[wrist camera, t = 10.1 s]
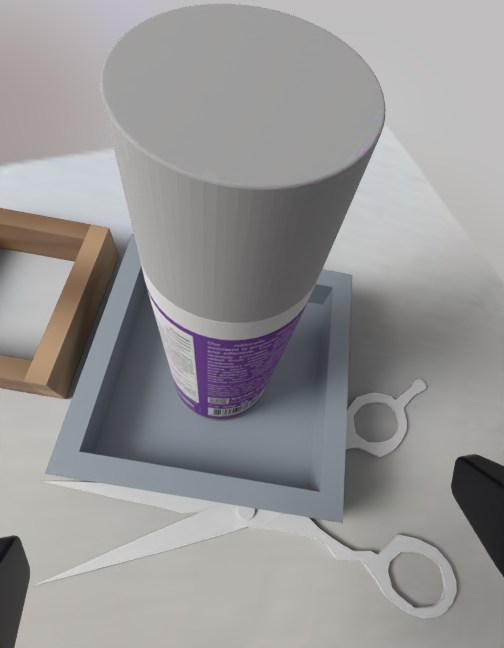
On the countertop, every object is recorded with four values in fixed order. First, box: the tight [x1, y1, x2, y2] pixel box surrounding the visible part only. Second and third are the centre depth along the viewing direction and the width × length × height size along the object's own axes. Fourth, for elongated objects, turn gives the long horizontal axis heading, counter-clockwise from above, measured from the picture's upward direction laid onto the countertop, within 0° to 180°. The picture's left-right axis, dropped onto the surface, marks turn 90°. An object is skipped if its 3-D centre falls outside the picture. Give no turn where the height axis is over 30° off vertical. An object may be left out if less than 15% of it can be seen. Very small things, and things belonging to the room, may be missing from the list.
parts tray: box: [45, 234, 352, 523], centre depth 19 cm, size 12×12×3 cm
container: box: [101, 4, 385, 421], centre depth 13 cm, size 5×5×15 cm
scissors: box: [36, 379, 457, 619], centre depth 18 cm, size 11×1×20 cm
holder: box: [0, 208, 119, 399], centre depth 20 cm, size 9×9×2 cm
